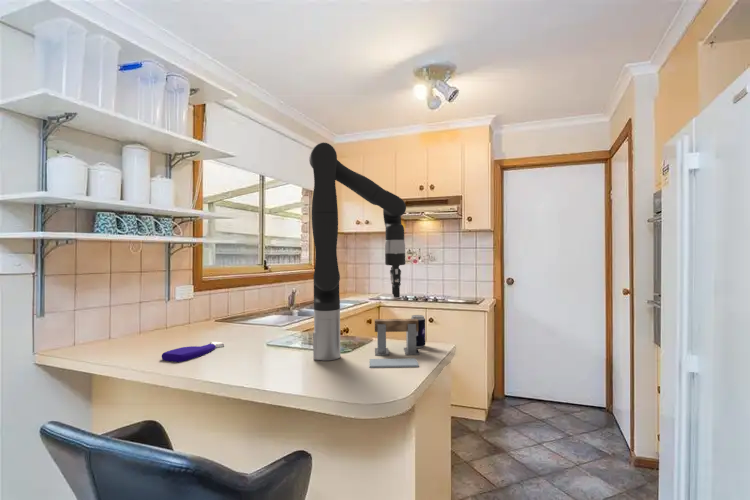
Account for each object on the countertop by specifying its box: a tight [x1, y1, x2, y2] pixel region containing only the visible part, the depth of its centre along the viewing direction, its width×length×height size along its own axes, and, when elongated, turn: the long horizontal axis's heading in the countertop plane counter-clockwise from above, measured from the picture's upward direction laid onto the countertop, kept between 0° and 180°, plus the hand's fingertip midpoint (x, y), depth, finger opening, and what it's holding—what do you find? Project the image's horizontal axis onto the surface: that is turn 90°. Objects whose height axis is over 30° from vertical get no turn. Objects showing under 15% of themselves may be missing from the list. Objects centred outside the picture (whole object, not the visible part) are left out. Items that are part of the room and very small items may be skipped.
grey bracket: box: [403, 324, 420, 356], centre depth 150 cm, size 5×8×11 cm, turn 1°
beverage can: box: [410, 314, 426, 349], centre depth 158 cm, size 6×6×12 cm
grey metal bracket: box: [374, 324, 390, 356], centre depth 150 cm, size 5×8×11 cm, turn 1°
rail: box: [374, 318, 418, 333], centre depth 150 cm, size 16×4×4 cm, turn 91°
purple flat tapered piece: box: [161, 341, 225, 363], centre depth 152 cm, size 3×11×24 cm
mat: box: [369, 357, 420, 369], centre depth 135 cm, size 16×8×1 cm, turn 91°
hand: (395, 295), depth 150 cm, fingers open, 8 cm apart
